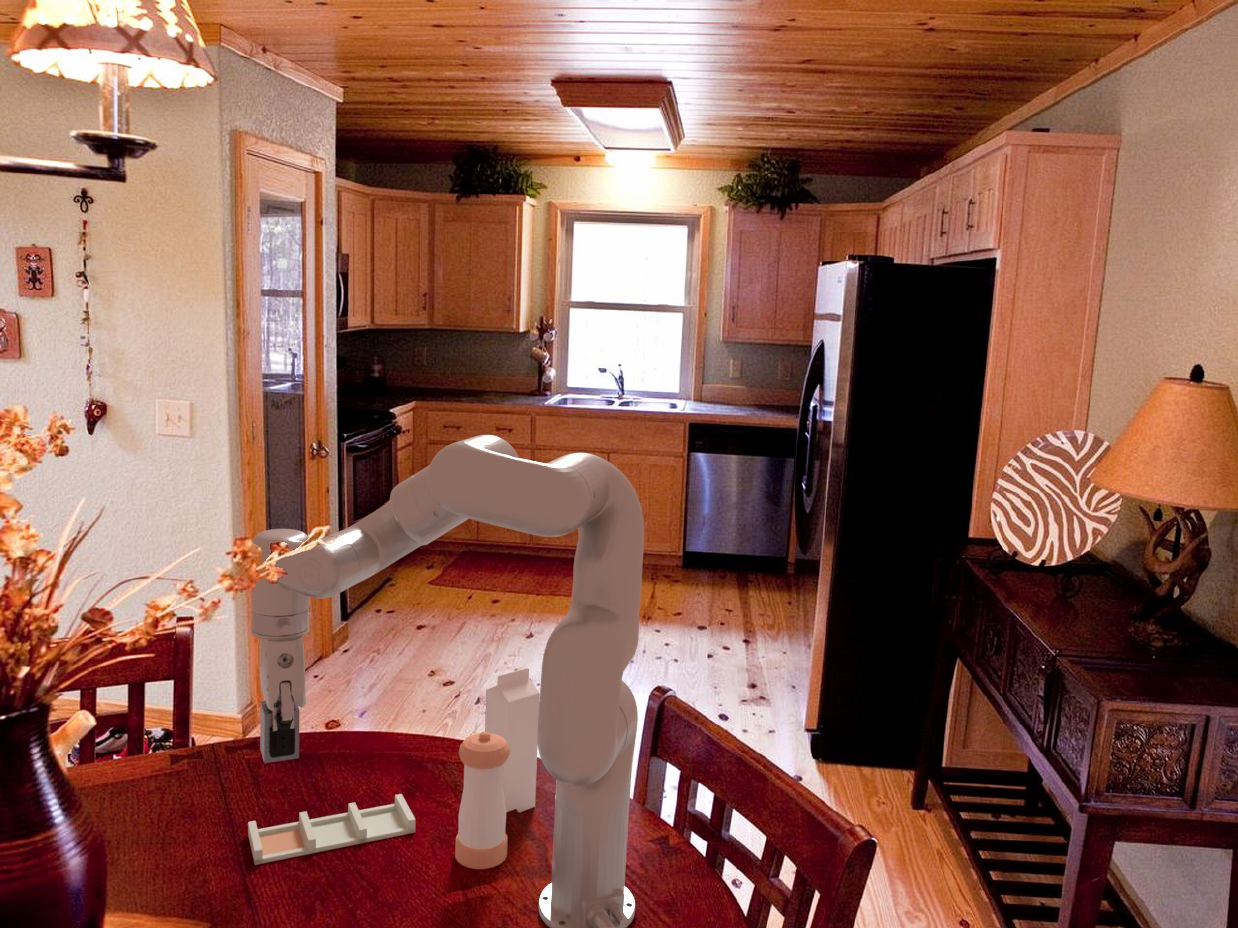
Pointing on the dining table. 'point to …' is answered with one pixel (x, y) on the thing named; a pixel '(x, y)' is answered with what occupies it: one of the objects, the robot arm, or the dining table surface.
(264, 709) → the tall gray pillar
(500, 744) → the pepper shaker
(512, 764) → the milk
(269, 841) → the white compartment tray
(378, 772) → the dining table surface
